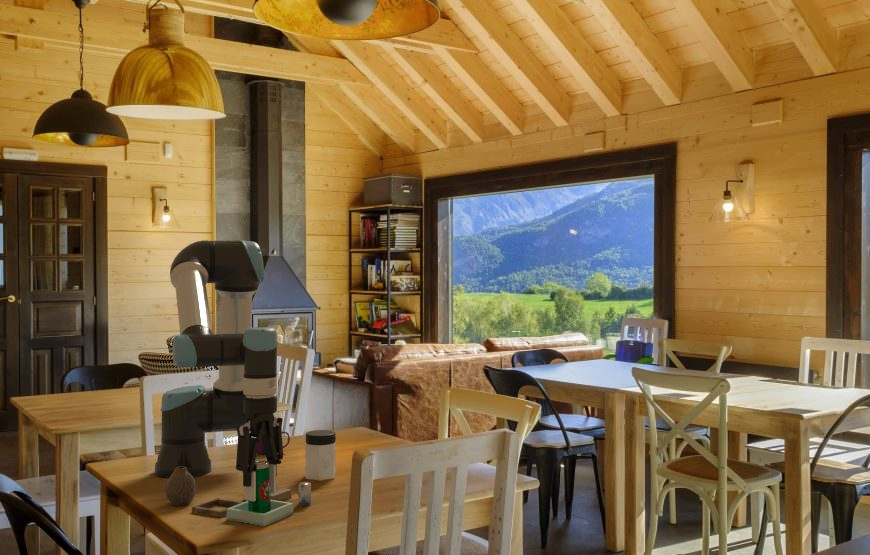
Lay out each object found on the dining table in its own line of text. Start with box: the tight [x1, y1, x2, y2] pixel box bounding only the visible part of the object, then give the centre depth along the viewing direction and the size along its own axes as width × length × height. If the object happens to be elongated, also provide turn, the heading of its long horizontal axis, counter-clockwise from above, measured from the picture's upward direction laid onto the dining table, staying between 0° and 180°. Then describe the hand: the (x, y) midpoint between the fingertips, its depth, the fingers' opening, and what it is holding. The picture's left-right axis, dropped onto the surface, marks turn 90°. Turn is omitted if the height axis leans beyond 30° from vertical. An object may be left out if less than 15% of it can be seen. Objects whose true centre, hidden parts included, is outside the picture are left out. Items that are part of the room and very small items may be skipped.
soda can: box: [247, 459, 271, 514], centre depth 194 cm, size 5×5×12 cm
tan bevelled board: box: [271, 486, 293, 502], centre depth 209 cm, size 9×7×2 cm
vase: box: [165, 466, 197, 507], centre depth 205 cm, size 7×7×9 cm
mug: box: [256, 431, 291, 456], centre depth 261 cm, size 7×10×7 cm
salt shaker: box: [297, 481, 312, 507], centre depth 204 cm, size 3×3×5 cm
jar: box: [304, 429, 337, 481], centre depth 231 cm, size 9×8×12 cm
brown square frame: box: [191, 497, 244, 518], centre depth 199 cm, size 9×9×1 cm
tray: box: [226, 500, 294, 527], centre depth 194 cm, size 11×11×2 cm
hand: (260, 496), depth 194 cm, fingers open, 7 cm apart
